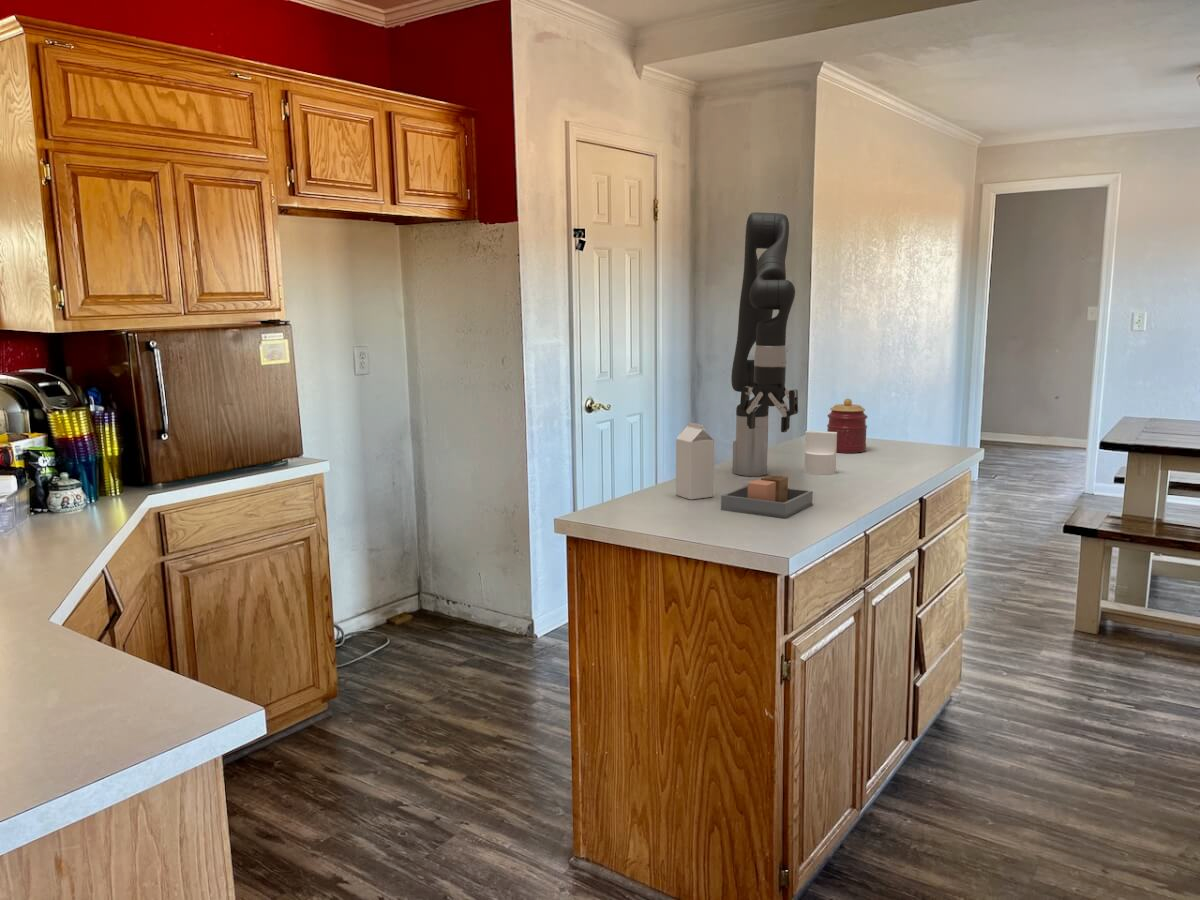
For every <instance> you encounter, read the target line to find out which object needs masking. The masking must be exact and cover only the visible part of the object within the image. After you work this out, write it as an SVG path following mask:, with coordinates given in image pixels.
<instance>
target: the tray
mask: <svg viewBox="0 0 1200 900" xmlns="http://www.w3.org/2000/svg"><path fill="white" fill-rule="evenodd" d="M813 494H814V491H813V490H804V489H799V488H797V489H796V488H789V487H788V497H787V501H786V502H784V503H782V502H774V501H767V500H759V499H751V498H747V497H748V484H747V485H744V486H742V487H740V488H737V489H734V490H731V491H729V492H725V493H724V494H722V495H720V510H721V511H722V510H723V511H728V512H729V511H730V512H736V513H743V514H750V515H757V516H766V517H773V518H779V519H788V518H789V517H791V516H794V515H795V514H797V513H799V512H801V511H804V510H805V509H808V508H809V507H811V506H813V497H814V495H813Z"/></svg>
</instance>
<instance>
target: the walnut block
mask: <svg viewBox="0 0 1200 900" xmlns="http://www.w3.org/2000/svg"><path fill="white" fill-rule="evenodd" d="M760 480H765V481H773V482H776V495H775V502H782V503H784V502H786V501H787V497H788V488H789V477H788V476H782V475H781V476H780V475H773V474H769V475H768V474H767V475H766V476H763V477H761V478H760Z"/></svg>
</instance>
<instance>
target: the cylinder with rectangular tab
mask: <svg viewBox="0 0 1200 900" xmlns="http://www.w3.org/2000/svg"><path fill="white" fill-rule="evenodd" d="M804 436H805V437H804V438H805V439H804V440H805V442H804V443H805V444H804V468H803V469H804V471H803V472H804V473H805V474H808V475H814V476H832V474H833V475H835V474H837V473H836V472H837V452H836V448H837V432H827V431H819V430H818V431H817V430H806V431H805V435H804Z"/></svg>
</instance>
